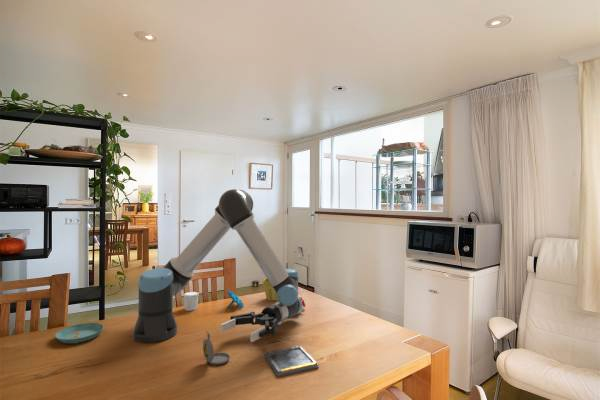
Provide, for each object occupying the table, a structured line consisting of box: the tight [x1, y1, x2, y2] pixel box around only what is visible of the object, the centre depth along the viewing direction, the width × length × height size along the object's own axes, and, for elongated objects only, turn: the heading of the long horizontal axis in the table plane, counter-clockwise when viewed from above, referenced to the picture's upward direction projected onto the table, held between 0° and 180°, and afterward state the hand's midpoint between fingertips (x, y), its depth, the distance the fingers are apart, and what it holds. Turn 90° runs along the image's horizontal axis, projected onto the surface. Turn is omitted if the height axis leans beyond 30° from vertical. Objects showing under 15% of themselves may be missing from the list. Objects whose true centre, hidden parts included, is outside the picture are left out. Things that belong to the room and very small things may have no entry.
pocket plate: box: [263, 345, 319, 378], centre depth 102 cm, size 13×13×1 cm
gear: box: [227, 290, 245, 308], centre depth 153 cm, size 11×6×10 cm
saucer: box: [54, 322, 105, 344], centre depth 118 cm, size 15×15×3 cm
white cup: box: [183, 291, 200, 312], centre depth 150 cm, size 7×7×7 cm
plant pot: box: [262, 277, 279, 302], centre depth 166 cm, size 10×10×10 cm
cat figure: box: [297, 294, 306, 315], centre depth 153 cm, size 10×9×25 cm
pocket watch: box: [202, 331, 231, 366], centre depth 102 cm, size 8×8×10 cm
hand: (235, 332), depth 109 cm, fingers open, 13 cm apart
